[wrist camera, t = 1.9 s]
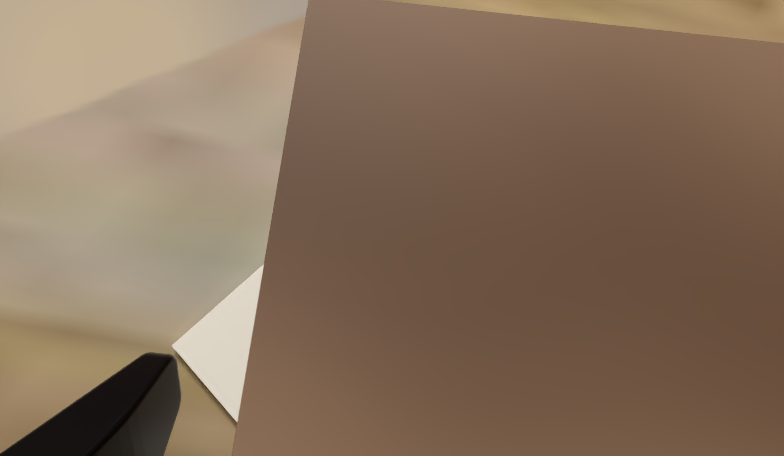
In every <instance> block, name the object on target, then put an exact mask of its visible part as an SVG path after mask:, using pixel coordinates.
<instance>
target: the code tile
mask: <svg viewBox="0 0 784 456" xmlns="http://www.w3.org/2000/svg"><path fill="white" fill-rule="evenodd" d="M263 267H264V264H263V265H262V266H261V267H260V268H259V269H258V270H257V271H256V272H254V273H253V274H252V275H251V276H250V277H249V278H248V279H246V280H245V281H244V282H243V283H242V284H241V285H240V286H239V287H237V288H236V289H235V290H234V291H233V292H232V293H231V294H230V295H228V296H227V297H226V298H225V299H224V300H223V301H222V302H221V303H219V304H218V305H217V306H216V307H215V308H214V309H213V310H212V311H210V312H209V313H208V314H207V315H206V316H205V317H204V318H202V319H201V320H200V321H199V322H198V323H197V324H196V325H195V326H193V327H192V328H191V329H190V330H189V331H188V332H187V333H186V334H184V335H183V336H182V337H181V338H180V339H179V340H178V341H177V342H175V343H174V344H173V345H172V347H173V348H174V349H175V350H176V351H177V353H178V354H179V355H180V356H181V357H182V358H183V360H184V361H185V362H186V363H187V364H188V366H189V367H190V368H191V369H192V370H193V371H194V373H195V374H196V375H197V376H198V377H199V378H200V380H201V381H202V382H203V383H204V384H205V385H206V387H207V388H208V389H209V390H210V391H211V393H212V394H213V395H214V396H215V397H216V398H217V400H218V401H219V402H220V403H221V404H222V405H223V407H224V408H225V409H226V410H227V411H228V412H229V414H230V415H231V416H232V417H233V418H234V420H235V421H236V422H237V421H238V415H239V409H240V403H241V398H242V392H243V386H244V380H245V374H246V368H247V362H248V356H249V350H250V344H251V338H252V332H253V326H254V321H255V315H256V309H257V303H258V297H259V291H260V285H261V279H262V273H263Z"/></svg>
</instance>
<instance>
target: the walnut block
mask: <svg viewBox="0 0 784 456" xmlns="http://www.w3.org/2000/svg"><path fill="white" fill-rule="evenodd" d="M232 456H784V43H775V42H765V41H756V40H747V39H737V38H728V37H719V36H709V35H700V34H690V33H681V32H672V31H662V30H653V29H644V28H634V27H625V26H616V25H606V24H597V23H588V22H578V21H569V20H560V19H550V18H541V17H532V16H522V15H513V14H503V13H494V12H485V11H475V10H466V9H457V8H447V7H438V6H429V5H419V4H410V3H401V2H391V1H382V0H309V1H308V7H307V13H306V18H305V24H304V30H303V36H302V42H301V48H300V54H299V60H298V66H297V72H296V78H295V84H294V90H293V95H292V101H291V107H290V113H289V119H288V125H287V131H286V137H285V143H284V149H283V155H282V161H281V167H280V172H279V178H278V184H277V190H276V196H275V202H274V208H273V214H272V220H271V226H270V232H269V238H268V244H267V249H266V255H265V261H264V267H263V273H262V279H261V285H260V291H259V297H258V303H257V309H256V315H255V321H254V326H253V332H252V338H251V344H250V350H249V356H248V362H247V368H246V374H245V380H244V386H243V392H242V398H241V403H240V409H239V415H238V421H237V427H236V433H235V439H234V445H233V451H232Z"/></svg>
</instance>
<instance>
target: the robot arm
mask: <svg viewBox="0 0 784 456" xmlns="http://www.w3.org/2000/svg"><path fill="white" fill-rule="evenodd" d="M180 402H181V389H180V381H179V374H178V366H177V361H176V358H175V357H174V356H173V355H171V354H162V353H153V352H149V353H145V354H143V355H141V356H140V357H139V358H137V359H136V360H134V361H133V362H131V363H130V364H128V365H127V366H126V367H124V368H123V369H121V370H120V371H118V372H117V373H115V374H114V375H113V376H111V377H110V378H108V379H107V380H105V381H104V382H103V383H101V384H100V385H98V386H97V387H95V388H94V389H92V390H91V391H90V392H88V393H87V394H85V395H84V396H82V397H81V398H79V399H78V400H77V401H75V402H74V403H72V404H71V405H69V406H68V407H67V408H65V409H64V410H62V411H61V412H59V413H58V414H56V415H55V416H54V417H52V418H51V419H49V420H48V421H46V422H45V423H44V424H42V425H41V426H39V427H38V428H36V429H35V430H33V431H32V432H31V433H29V434H28V435H26V436H25V437H23V438H22V439H20V440H19V441H18V442H16V443H15V444H13V445H12V446H10V447H9V448H8V449H6V450H5V451H3V452H2V453H0V456H163V455H164V452H165V449H166V446H167V443H168V440H169V438H170V435H171V432H172V429H173V426H174V423H175V420H176V417H177V414H178V411H179V407H180Z"/></svg>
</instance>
